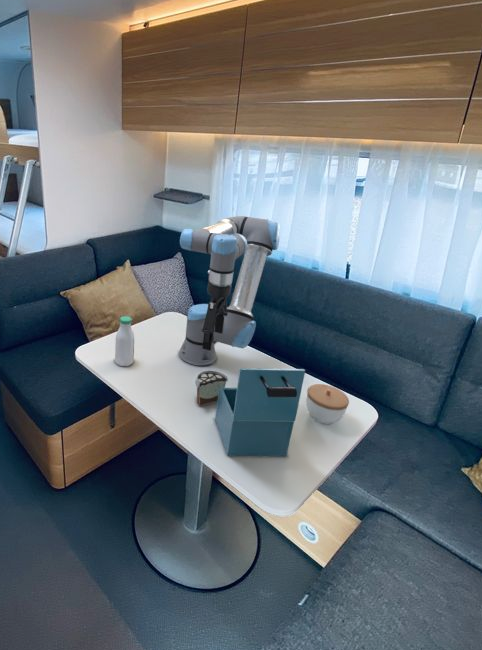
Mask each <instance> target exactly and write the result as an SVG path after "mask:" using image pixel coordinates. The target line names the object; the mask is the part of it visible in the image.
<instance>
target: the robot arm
mask: <svg viewBox="0 0 482 650" xmlns="http://www.w3.org/2000/svg"><path fill="white" fill-rule="evenodd" d="M280 233H281V227H280V224H279V222H278V221H277V220H272V219H269V218H267V219H265V218H259V217H251V216H246V215H245V216H244V215H237V216H236V215H235V216H230V217H224V218H222V219H219V220H218V221H217V222H216V223H214V224H211V225H208V226H205V227H202V228H198V229H194V228H184V229H183V230H182V231H181V234H180V237H179V245H180V248H181V249H183V250H186V251H190V252H197V253H203V254H208V255H210V263H209V270H208V271H207V274H208V282H207V289H206V292H207V294H208V295H209V296H211V297H212V298H210V301H209V302H208V303H197V304H195V305H192V306H191V307H189V308H188V310H187V311H188V312H187V316H186V327H185V328H186V329H185V338H184V341H183V342H182V345H181V346H180V350H179V358H180V359H181V360H182V361H183V362H185V363H187V364H188V365H189V364H190V365H192V366H198V367H205V366H209V365H212V364H214V363H215V362H216V359H217V352H216V348H215V344H214V343H216V342H218V343H220V344H224V345H228V346H231V347H233V348H239V349H246V347H248V346H249V344H250V343H251V341H252V340H253V339H252V338H253V336H254V334H255V331H256V327H257V323H256V321H255V320H254V318H255V317H254V314H253V313H252V311H253V310H252V309H253V306H254V303H255V299H256V296H257V292H258V289H259V286H260V282H261V279H262V278H261V277H262V275H263V271H264V268H265V265H266V264H265V263H266V260H267V258H268V257H269V256H272V254H273V251H277V250H278V248H279V244H280V237H281V234H280ZM242 255H244V256H243V259H242V262H241V266H240V269H239V273H238V276H237V278H236V279H237V280H236V283H235V287H234V289H233V294H232V297H231V301H230V303H229V306H228V300H227V299H228V297H230V296H231V292H232V286H233V285H232V283H233V279H234V270H235V264H236V263H235V262H236V260H237V259H239V258H240V257H241V256H242Z"/></svg>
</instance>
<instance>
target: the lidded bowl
mask: <svg viewBox="0 0 482 650" xmlns="http://www.w3.org/2000/svg"><path fill="white" fill-rule="evenodd" d="M305 398H306V400H305V403H306V408H307V409H306V410H307V411H308V412H309V414H310V416H311V417H312V418H313V419H314V420H315V421H316V422H318V423H319V424H323V425H331V424H334V423H336V422H339V421H340V420H342V418H343V417H344V416H345V414H346V412H347V409H348V407H349V403H350V400H349V398H348V396H347V395H346V394H345V392H343V391H342V390H340V389H339V388H337V387H334V386H332V385H328V384H323V383H316V384H311V385H310V386H309V387H308V388H307V390H306V397H305Z"/></svg>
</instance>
